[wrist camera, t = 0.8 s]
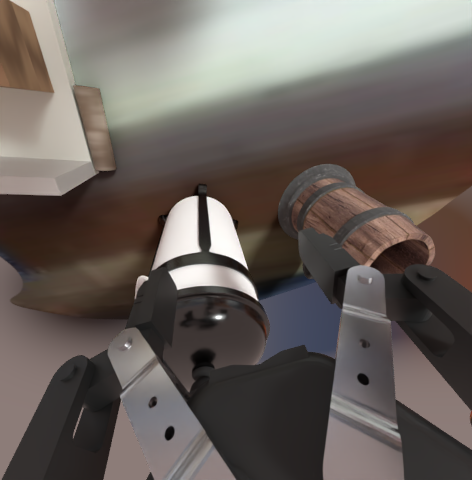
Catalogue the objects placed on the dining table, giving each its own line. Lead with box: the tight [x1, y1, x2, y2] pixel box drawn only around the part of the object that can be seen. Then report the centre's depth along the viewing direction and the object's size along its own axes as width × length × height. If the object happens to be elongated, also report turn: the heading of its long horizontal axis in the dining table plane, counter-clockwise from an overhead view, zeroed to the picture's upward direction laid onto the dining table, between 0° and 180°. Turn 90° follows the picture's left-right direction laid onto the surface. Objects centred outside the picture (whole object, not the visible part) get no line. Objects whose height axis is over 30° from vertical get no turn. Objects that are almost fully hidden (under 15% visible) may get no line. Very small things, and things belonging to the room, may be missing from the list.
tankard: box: [278, 164, 435, 309], centre depth 35 cm, size 24×17×20 cm
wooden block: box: [73, 85, 117, 171], centre depth 28 cm, size 10×3×3 cm
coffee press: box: [135, 184, 270, 396], centre depth 27 cm, size 17×16×30 cm
